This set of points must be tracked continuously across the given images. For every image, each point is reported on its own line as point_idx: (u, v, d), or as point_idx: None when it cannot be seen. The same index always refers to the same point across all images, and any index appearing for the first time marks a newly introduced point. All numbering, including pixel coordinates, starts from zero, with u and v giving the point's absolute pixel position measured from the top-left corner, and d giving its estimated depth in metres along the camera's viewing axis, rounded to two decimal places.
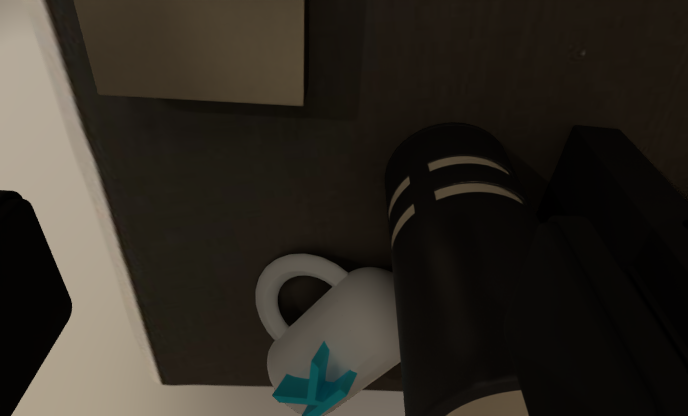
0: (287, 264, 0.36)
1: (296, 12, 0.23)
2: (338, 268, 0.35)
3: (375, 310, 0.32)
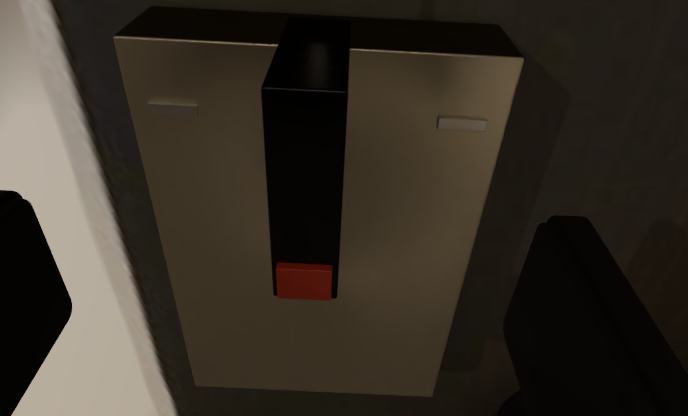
0: None
1: (441, 328, 0.20)
2: None
3: None
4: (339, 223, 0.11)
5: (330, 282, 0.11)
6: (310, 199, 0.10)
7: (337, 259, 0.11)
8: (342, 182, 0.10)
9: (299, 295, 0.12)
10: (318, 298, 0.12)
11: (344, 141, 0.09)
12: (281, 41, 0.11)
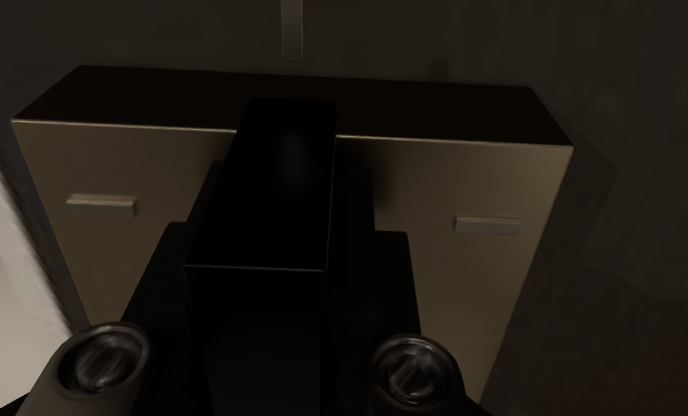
0: None
1: None
2: None
3: None
4: None
5: None
6: (274, 398, 0.07)
7: None
8: (321, 378, 0.07)
9: None
10: None
11: (322, 332, 0.06)
12: (232, 149, 0.07)
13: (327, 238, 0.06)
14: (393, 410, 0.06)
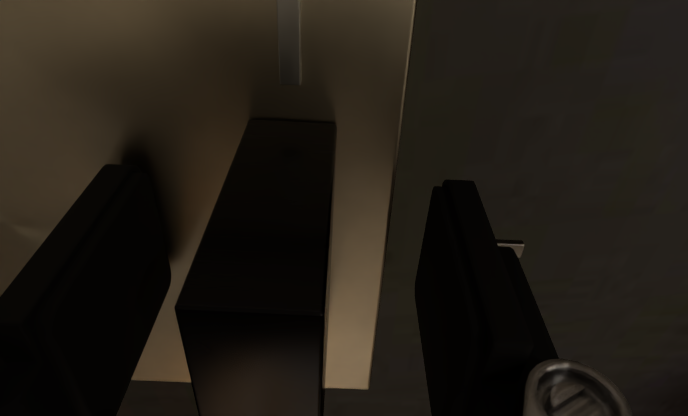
0: None
1: None
2: None
3: None
4: None
5: None
6: None
7: None
8: None
9: None
10: None
11: (320, 373, 0.06)
12: (229, 177, 0.07)
13: (325, 277, 0.06)
14: None
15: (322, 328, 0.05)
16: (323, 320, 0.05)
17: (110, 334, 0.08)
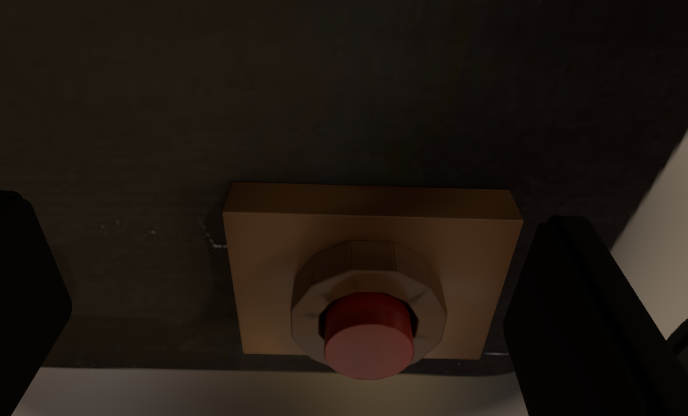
0: None
1: None
2: None
3: None
4: None
5: None
6: None
7: None
8: None
9: None
10: None
11: None
12: None
13: None
14: None
15: None
16: None
17: None
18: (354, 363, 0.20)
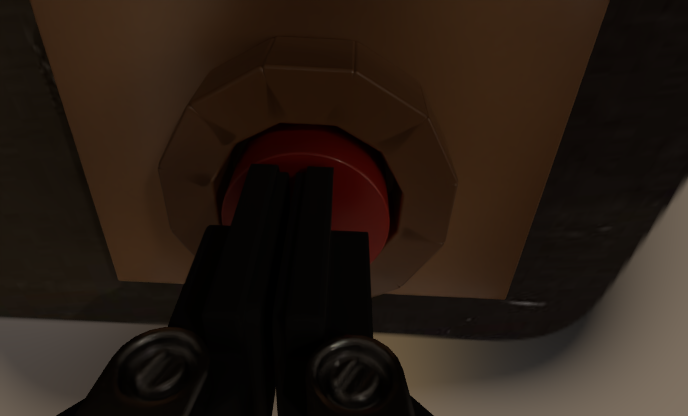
0: None
1: None
2: None
3: None
4: None
5: None
6: None
7: None
8: None
9: None
10: None
11: None
12: None
13: None
14: None
15: None
16: None
17: None
18: None
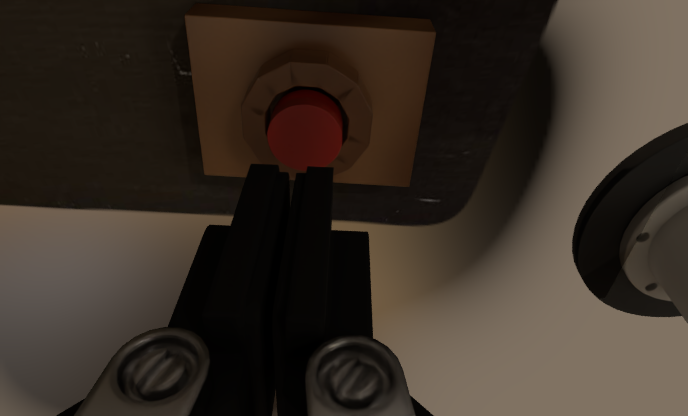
0: None
1: None
2: None
3: None
4: None
5: None
6: None
7: None
8: None
9: None
10: None
11: None
12: None
13: None
14: None
15: None
16: None
17: None
18: (292, 150, 0.24)
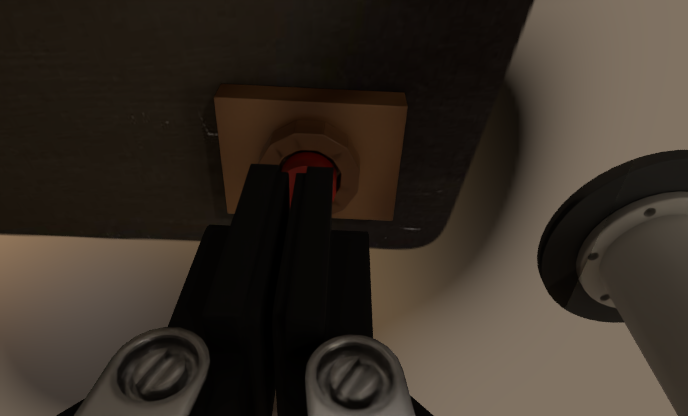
0: None
1: None
2: None
3: None
4: None
5: None
6: None
7: None
8: None
9: None
10: None
11: None
12: None
13: None
14: (336, 415, 0.05)
15: None
16: None
17: None
18: None
